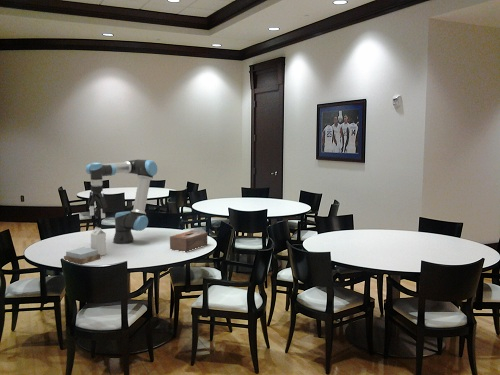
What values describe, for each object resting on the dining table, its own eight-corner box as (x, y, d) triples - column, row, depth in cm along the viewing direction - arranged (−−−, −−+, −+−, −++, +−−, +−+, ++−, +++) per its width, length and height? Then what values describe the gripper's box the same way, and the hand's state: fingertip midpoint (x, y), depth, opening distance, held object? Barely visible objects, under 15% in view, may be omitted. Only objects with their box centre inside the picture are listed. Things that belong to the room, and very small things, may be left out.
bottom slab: (83, 255, 314) (83, 250, 313) (100, 258, 306) (100, 254, 305) (64, 260, 300) (63, 256, 299) (80, 264, 292) (80, 259, 292)
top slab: (83, 251, 312) (83, 247, 312) (98, 254, 305) (97, 249, 305) (66, 256, 300) (66, 251, 299) (80, 259, 293) (80, 254, 293)
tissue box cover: (185, 252, 325) (185, 238, 323) (170, 250, 332) (169, 236, 331) (207, 245, 347) (207, 232, 346) (192, 243, 354) (192, 230, 353)
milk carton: (100, 252, 320) (99, 226, 318) (106, 254, 316) (105, 227, 314) (91, 254, 315) (90, 227, 313) (97, 256, 310) (96, 229, 308)
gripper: (81, 184, 315) (82, 215, 317) (102, 187, 299) (102, 219, 302) (91, 183, 321) (92, 213, 323) (112, 186, 305) (112, 218, 307)
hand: (97, 216), depth 312 cm, fingers open, 13 cm apart
